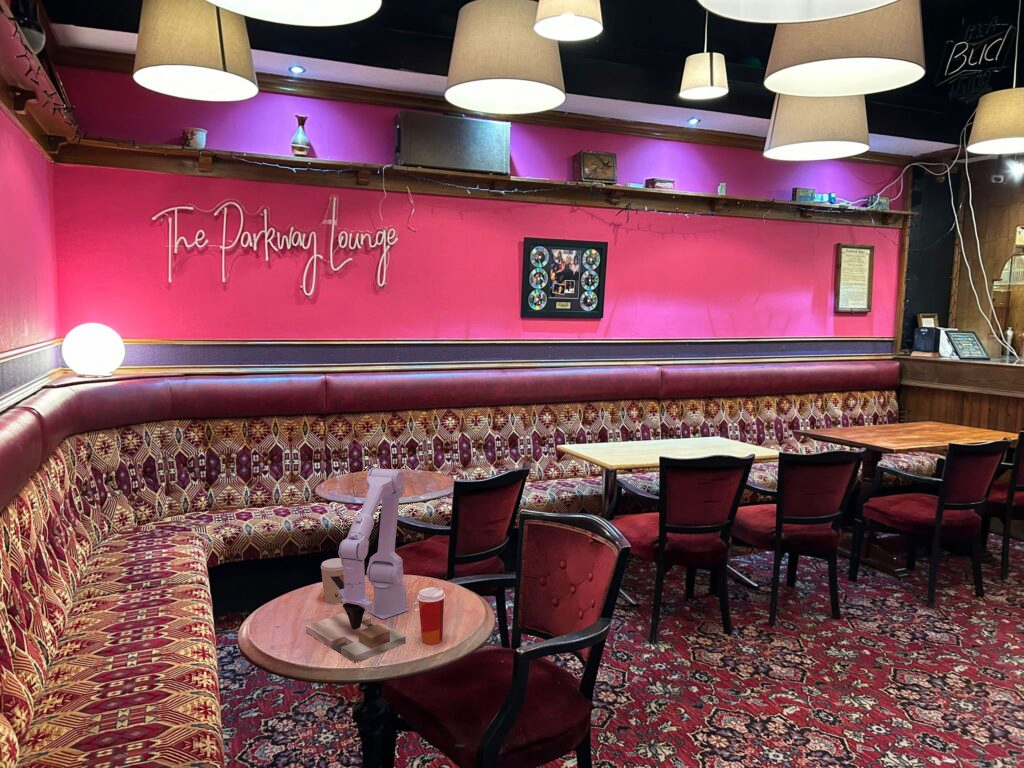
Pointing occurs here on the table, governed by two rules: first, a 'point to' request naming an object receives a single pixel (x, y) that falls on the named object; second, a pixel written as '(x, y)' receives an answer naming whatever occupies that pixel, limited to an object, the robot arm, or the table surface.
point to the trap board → (350, 637)
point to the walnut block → (374, 636)
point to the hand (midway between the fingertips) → (356, 628)
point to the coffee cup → (332, 580)
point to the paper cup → (431, 615)
